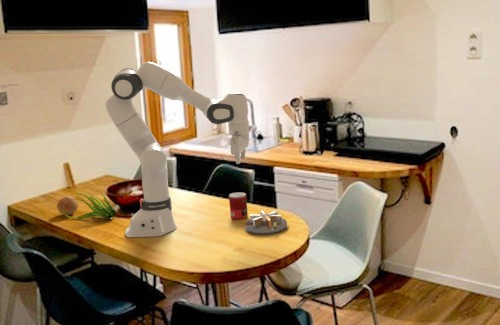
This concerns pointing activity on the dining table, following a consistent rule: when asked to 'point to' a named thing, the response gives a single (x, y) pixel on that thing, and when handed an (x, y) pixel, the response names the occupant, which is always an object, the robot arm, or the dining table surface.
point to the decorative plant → (96, 208)
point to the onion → (67, 205)
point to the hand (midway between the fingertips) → (240, 161)
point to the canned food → (238, 205)
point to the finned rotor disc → (266, 219)
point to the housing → (266, 228)
